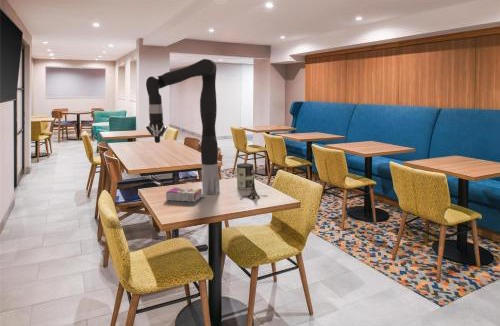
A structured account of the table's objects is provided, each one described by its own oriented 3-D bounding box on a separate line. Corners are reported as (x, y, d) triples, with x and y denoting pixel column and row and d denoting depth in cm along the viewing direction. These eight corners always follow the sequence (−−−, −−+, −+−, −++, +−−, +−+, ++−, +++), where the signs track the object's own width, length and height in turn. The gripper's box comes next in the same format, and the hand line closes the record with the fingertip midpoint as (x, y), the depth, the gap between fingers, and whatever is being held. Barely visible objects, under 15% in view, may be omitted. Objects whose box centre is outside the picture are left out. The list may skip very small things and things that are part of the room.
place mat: (206, 197, 207) (206, 196, 207) (194, 205, 192) (194, 204, 192) (178, 195, 212) (178, 194, 212) (164, 203, 197) (164, 202, 197)
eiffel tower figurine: (268, 196, 210) (268, 173, 208) (267, 201, 200) (267, 177, 198) (241, 195, 212) (241, 172, 209) (239, 201, 202) (239, 176, 199)
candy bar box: (173, 186, 209) (201, 188, 206) (174, 195, 210) (202, 197, 207) (165, 191, 198) (195, 193, 195) (166, 200, 199) (195, 202, 196)
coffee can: (253, 185, 234) (253, 163, 231) (253, 189, 224) (253, 166, 221) (237, 185, 234) (236, 163, 231) (236, 189, 224) (236, 166, 221)
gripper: (169, 112, 214) (170, 142, 217) (149, 112, 217) (150, 141, 221) (163, 113, 207) (164, 144, 210) (142, 112, 210) (143, 143, 213)
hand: (157, 142), depth 215 cm, fingers closed
